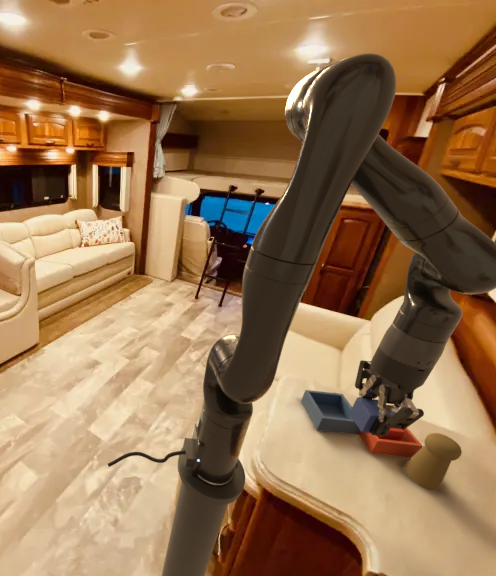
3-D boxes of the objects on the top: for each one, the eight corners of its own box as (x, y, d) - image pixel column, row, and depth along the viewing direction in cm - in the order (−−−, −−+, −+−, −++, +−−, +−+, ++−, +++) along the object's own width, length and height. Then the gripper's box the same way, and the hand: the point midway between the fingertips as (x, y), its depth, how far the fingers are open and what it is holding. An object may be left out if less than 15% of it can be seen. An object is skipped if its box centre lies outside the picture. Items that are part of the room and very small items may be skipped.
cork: (396, 460, 71) (419, 425, 66) (427, 465, 70) (453, 431, 65) (414, 486, 66) (440, 450, 61) (447, 493, 65) (477, 457, 60)
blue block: (361, 432, 60) (371, 415, 58) (348, 413, 64) (357, 397, 62) (386, 435, 60) (397, 418, 58) (372, 416, 64) (381, 400, 62)
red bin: (370, 453, 72) (377, 440, 71) (347, 420, 81) (353, 408, 79) (414, 458, 72) (423, 446, 70) (387, 424, 80) (394, 412, 78)
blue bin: (316, 430, 78) (322, 418, 76) (300, 401, 86) (305, 389, 84) (357, 434, 77) (363, 422, 75) (337, 405, 85) (342, 393, 84)
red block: (376, 443, 74) (384, 430, 72) (364, 427, 78) (371, 414, 76) (396, 446, 74) (405, 432, 72) (384, 429, 78) (391, 416, 76)
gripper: (359, 327, 61) (329, 394, 69) (413, 378, 49) (369, 453, 56) (401, 331, 61) (366, 398, 68) (467, 384, 48) (414, 459, 55)
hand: (367, 422), depth 62 cm, fingers closed on blue block, 4 cm apart
